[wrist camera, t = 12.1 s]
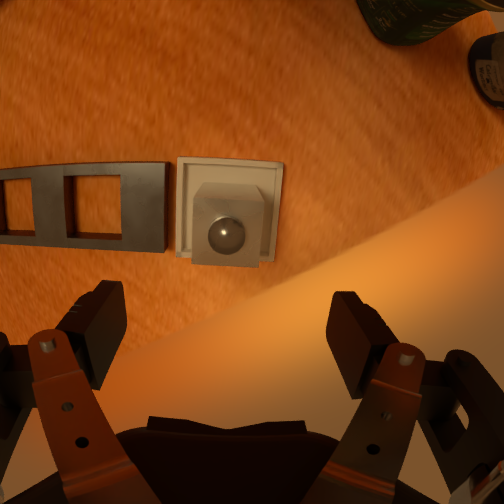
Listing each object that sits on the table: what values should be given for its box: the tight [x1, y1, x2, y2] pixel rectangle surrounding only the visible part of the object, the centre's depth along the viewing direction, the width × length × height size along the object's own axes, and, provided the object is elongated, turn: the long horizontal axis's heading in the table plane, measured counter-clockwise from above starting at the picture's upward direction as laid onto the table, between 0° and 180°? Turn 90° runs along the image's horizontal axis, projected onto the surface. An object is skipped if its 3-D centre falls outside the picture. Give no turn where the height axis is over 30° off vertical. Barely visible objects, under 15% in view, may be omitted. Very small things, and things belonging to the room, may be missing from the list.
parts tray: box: [176, 156, 284, 262], centre depth 28 cm, size 9×9×2 cm
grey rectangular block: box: [192, 182, 264, 268], centre depth 24 cm, size 5×5×9 cm
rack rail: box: [0, 161, 169, 253], centre depth 26 cm, size 8×24×2 cm, turn 85°
